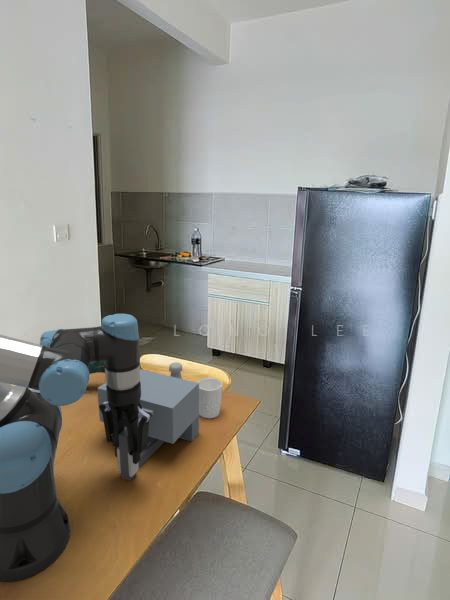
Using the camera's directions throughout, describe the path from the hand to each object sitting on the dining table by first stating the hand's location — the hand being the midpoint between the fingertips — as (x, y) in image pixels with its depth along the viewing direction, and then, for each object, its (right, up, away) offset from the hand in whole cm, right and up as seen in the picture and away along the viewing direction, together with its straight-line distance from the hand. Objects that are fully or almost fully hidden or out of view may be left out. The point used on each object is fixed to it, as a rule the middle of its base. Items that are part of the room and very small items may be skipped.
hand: (128, 470), depth 90 cm
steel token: (+2, +2, +13) cm, 14 cm away
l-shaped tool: (+3, 0, +7) cm, 8 cm away
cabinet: (+2, +3, +15) cm, 16 cm away
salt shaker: (+7, +8, +34) cm, 36 cm away
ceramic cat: (-21, +10, +40) cm, 46 cm away
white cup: (+18, +5, +28) cm, 34 cm away
